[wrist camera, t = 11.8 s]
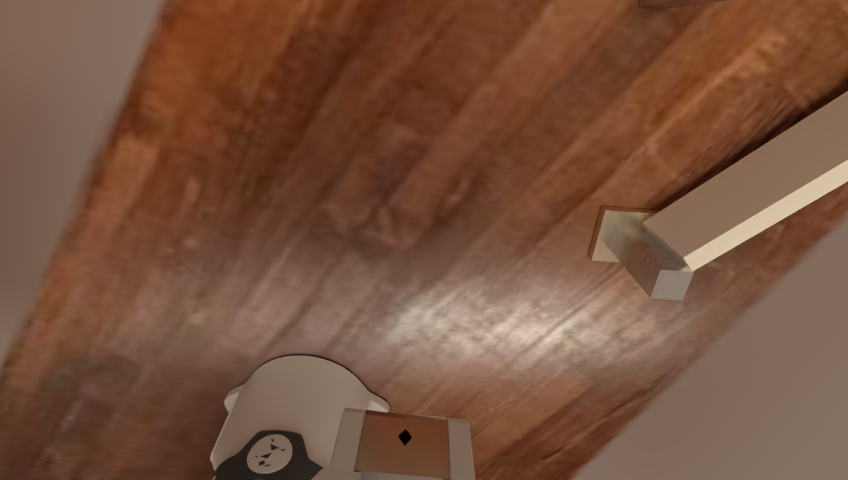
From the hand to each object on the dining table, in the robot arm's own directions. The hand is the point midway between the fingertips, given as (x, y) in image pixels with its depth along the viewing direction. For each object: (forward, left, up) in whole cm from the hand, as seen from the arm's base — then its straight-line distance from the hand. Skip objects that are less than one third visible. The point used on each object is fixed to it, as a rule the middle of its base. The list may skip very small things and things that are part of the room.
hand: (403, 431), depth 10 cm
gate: (+2, -27, -26) cm, 38 cm away
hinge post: (-6, -19, -28) cm, 34 cm away
